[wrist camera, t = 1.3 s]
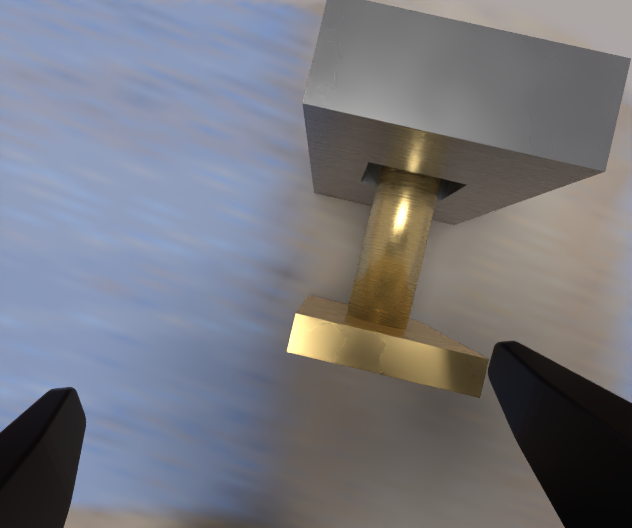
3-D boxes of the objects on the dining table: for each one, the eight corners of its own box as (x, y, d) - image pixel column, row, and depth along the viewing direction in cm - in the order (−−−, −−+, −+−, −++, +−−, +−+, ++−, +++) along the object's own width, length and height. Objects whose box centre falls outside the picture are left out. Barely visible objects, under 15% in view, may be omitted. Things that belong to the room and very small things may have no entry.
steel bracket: (454, 224, 24) (604, 171, 11) (314, 192, 24) (302, 103, 11) (466, 172, 24) (630, 58, 11) (326, 140, 24) (328, -8, 11)
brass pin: (412, 343, 23) (479, 397, 13) (303, 316, 23) (286, 351, 13) (455, 160, 23) (553, 76, 13) (345, 135, 23) (361, 34, 13)
